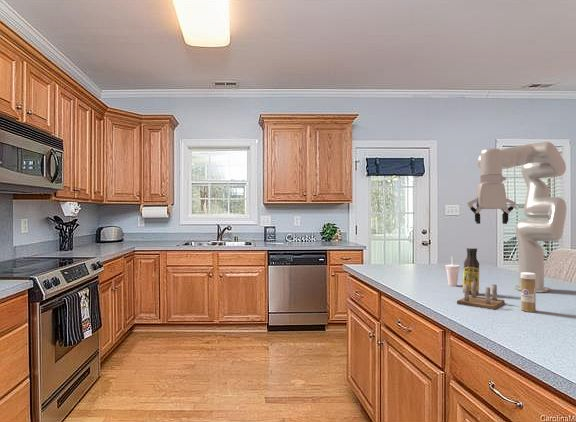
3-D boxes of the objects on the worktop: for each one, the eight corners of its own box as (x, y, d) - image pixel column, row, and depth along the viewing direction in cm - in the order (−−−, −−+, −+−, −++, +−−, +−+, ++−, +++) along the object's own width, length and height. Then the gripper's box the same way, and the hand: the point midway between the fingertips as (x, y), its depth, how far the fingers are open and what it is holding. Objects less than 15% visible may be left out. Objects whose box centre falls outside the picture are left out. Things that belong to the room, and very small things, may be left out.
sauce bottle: (462, 294, 163) (461, 248, 163) (463, 291, 169) (462, 246, 169) (479, 295, 160) (478, 248, 160) (479, 293, 166) (479, 247, 166)
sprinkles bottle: (520, 311, 135) (519, 273, 135) (522, 308, 139) (521, 271, 139) (535, 313, 132) (534, 274, 132) (537, 310, 136) (536, 272, 136)
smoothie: (459, 284, 185) (458, 255, 185) (460, 287, 179) (460, 257, 179) (445, 284, 187) (444, 255, 187) (446, 286, 181) (445, 257, 181)
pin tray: (469, 298, 156) (469, 280, 156) (504, 303, 147) (504, 284, 147) (456, 304, 147) (456, 285, 147) (493, 309, 137) (493, 289, 138)
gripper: (511, 180, 152) (511, 223, 152) (465, 181, 156) (465, 223, 155) (518, 179, 145) (519, 224, 145) (470, 179, 148) (470, 223, 148)
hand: (491, 223), depth 150 cm, fingers open, 9 cm apart
